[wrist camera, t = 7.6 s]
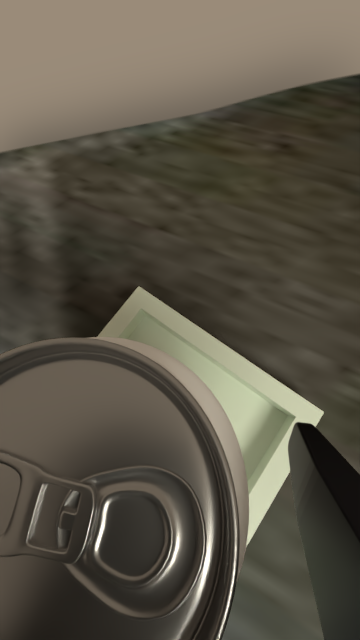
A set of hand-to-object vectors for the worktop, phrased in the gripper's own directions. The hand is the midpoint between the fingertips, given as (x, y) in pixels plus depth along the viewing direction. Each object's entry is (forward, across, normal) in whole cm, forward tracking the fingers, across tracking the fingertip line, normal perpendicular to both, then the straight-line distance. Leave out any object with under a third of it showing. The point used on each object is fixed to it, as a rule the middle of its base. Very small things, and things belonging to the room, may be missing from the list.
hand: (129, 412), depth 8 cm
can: (+5, 0, +7) cm, 9 cm away
